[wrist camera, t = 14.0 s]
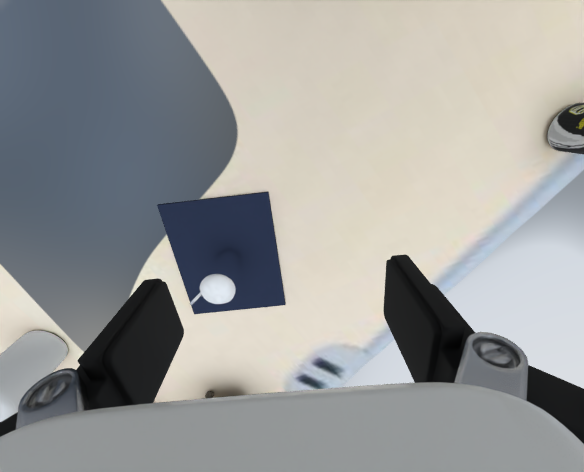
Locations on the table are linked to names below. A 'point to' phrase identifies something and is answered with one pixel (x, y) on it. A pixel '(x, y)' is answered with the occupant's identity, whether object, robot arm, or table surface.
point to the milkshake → (220, 279)
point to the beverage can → (568, 130)
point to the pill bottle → (27, 366)
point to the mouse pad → (226, 247)
